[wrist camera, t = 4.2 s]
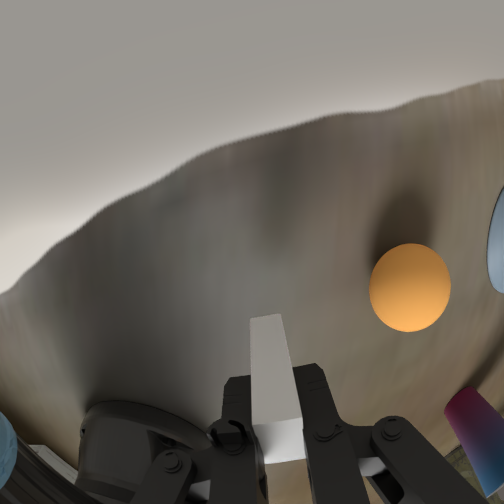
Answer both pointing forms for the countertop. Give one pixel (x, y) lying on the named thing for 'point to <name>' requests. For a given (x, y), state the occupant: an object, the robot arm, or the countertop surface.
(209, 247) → the countertop surface
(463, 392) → the cup
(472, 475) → the thermos
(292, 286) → the countertop surface
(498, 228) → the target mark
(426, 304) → the ball
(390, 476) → the robot arm
